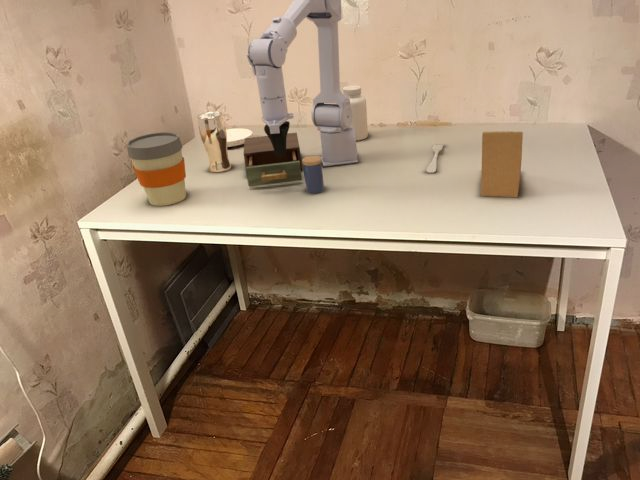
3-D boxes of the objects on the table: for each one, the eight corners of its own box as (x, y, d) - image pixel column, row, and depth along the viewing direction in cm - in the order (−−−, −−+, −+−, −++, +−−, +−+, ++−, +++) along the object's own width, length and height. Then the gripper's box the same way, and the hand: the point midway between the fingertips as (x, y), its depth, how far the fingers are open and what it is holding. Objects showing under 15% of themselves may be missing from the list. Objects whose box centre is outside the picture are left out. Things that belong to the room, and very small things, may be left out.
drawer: (303, 186, 143) (300, 167, 140) (248, 192, 142) (245, 174, 139) (299, 163, 157) (296, 146, 155) (249, 169, 156) (246, 152, 154)
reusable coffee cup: (152, 190, 150) (136, 133, 143) (199, 187, 150) (186, 130, 142) (134, 210, 140) (116, 150, 132) (185, 207, 139) (170, 146, 131)
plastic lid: (216, 153, 173) (215, 145, 172) (203, 142, 184) (201, 134, 182) (260, 143, 179) (259, 135, 177) (244, 133, 189) (243, 125, 188)
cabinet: (302, 170, 155) (299, 147, 152) (247, 177, 154) (243, 153, 150) (299, 154, 167) (296, 132, 163) (248, 160, 165) (244, 138, 162)
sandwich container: (520, 172, 143) (524, 111, 135) (518, 197, 130) (523, 131, 122) (484, 171, 145) (486, 111, 137) (479, 196, 132) (482, 131, 125)
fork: (425, 181, 148) (425, 171, 147) (435, 146, 164) (434, 137, 163) (436, 181, 148) (436, 171, 146) (445, 146, 164) (445, 137, 162)
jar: (323, 185, 145) (320, 154, 141) (325, 192, 141) (322, 161, 137) (305, 187, 144) (301, 157, 140) (306, 194, 140) (302, 163, 136)
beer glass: (227, 173, 158) (216, 118, 150) (203, 172, 159) (192, 118, 152) (237, 164, 163) (227, 111, 156) (214, 164, 165) (203, 111, 157)
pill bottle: (368, 140, 173) (365, 89, 166) (341, 142, 174) (337, 91, 166) (368, 132, 180) (365, 83, 173) (342, 134, 181) (338, 85, 173)
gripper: (289, 102, 122) (297, 164, 129) (291, 87, 135) (298, 144, 141) (256, 105, 122) (266, 167, 129) (261, 90, 134) (270, 146, 141)
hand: (281, 155), depth 135 cm, fingers closed
